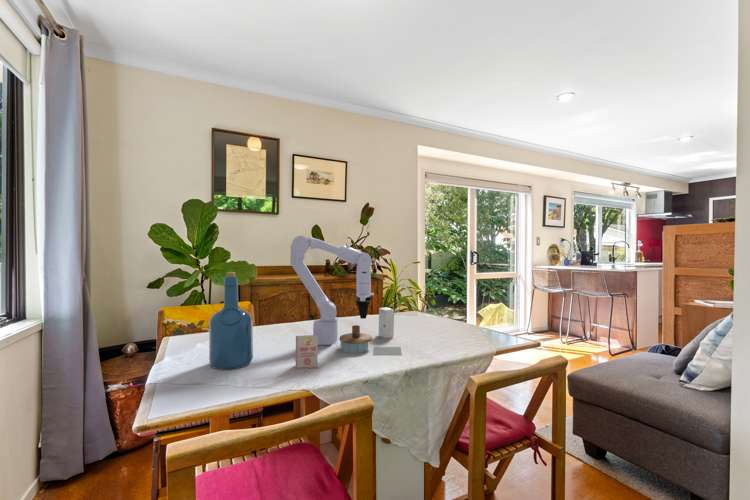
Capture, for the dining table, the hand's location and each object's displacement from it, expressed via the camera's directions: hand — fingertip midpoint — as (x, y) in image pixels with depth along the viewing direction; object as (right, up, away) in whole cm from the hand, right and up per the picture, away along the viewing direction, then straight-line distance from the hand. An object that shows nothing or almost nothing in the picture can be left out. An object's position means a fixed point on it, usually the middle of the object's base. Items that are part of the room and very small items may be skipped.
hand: (363, 316), depth 147 cm
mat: (+9, -10, -15) cm, 20 cm away
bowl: (-3, -10, -12) cm, 16 cm away
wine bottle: (-42, -11, -27) cm, 52 cm away
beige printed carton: (-17, -11, -30) cm, 36 cm away
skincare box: (+9, -10, +6) cm, 15 cm away
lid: (-3, -6, -12) cm, 14 cm away
